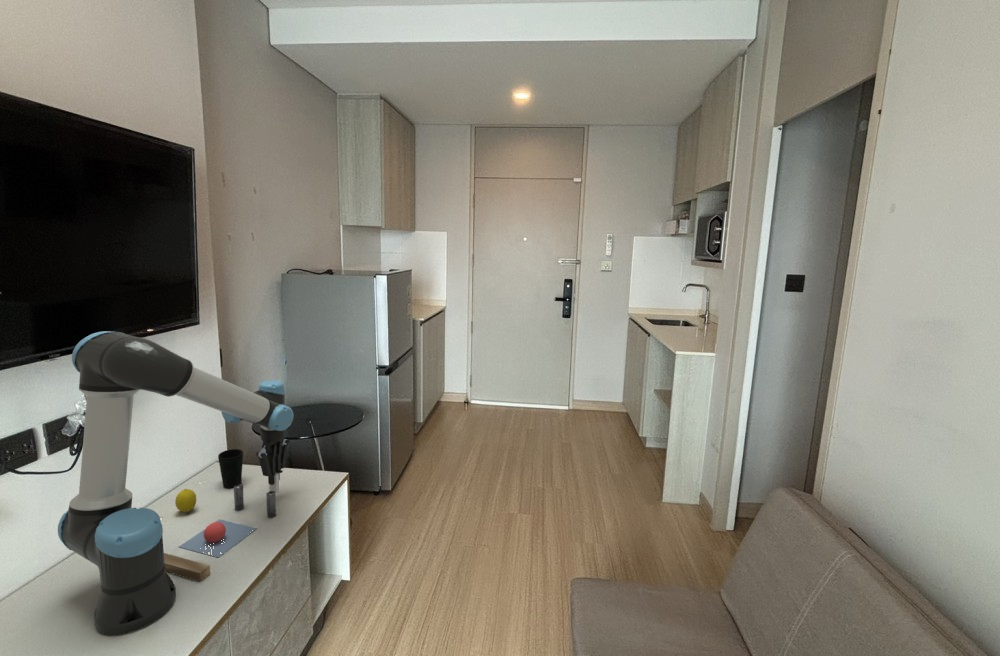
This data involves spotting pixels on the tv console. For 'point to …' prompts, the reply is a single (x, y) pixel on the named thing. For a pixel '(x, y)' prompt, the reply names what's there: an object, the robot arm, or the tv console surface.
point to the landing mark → (230, 538)
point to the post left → (238, 497)
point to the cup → (231, 467)
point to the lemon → (185, 500)
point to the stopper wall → (186, 567)
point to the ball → (214, 532)
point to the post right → (271, 504)
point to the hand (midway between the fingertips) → (274, 491)
